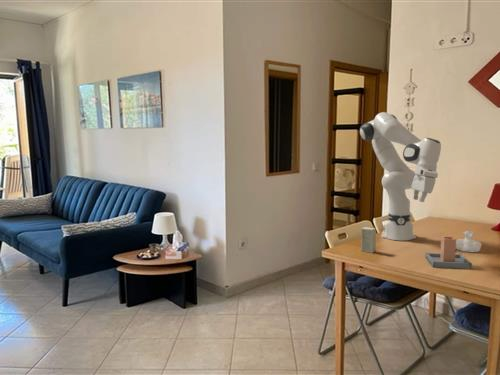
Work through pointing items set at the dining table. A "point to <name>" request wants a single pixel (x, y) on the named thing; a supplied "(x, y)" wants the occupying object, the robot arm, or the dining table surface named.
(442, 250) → the cup
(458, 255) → the tray
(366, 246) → the skincare box
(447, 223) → the dining table surface
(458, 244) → the bust
